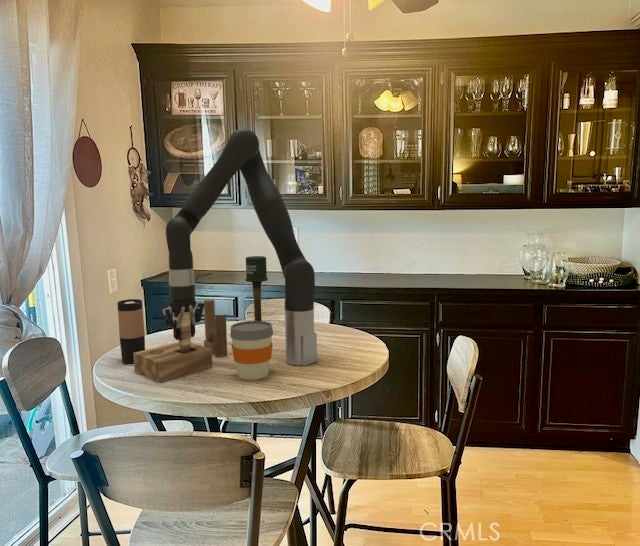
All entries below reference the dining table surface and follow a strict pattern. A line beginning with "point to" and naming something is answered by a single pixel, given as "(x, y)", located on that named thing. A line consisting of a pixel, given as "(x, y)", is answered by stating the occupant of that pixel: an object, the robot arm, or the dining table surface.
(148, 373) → the seat block
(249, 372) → the reusable coffee cup
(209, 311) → the wooden block
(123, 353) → the travel mug
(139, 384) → the dining table surface
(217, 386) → the dining table surface
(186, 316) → the peg
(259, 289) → the potato masher grenade
